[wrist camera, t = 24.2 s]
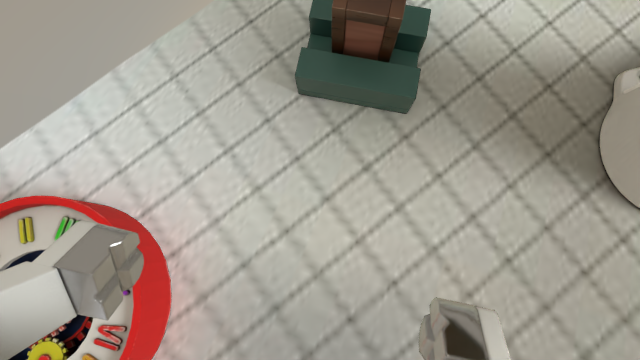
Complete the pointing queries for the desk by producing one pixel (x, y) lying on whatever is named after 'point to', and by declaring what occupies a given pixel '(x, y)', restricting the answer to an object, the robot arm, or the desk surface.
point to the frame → (366, 27)
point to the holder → (362, 64)
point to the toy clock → (82, 331)
